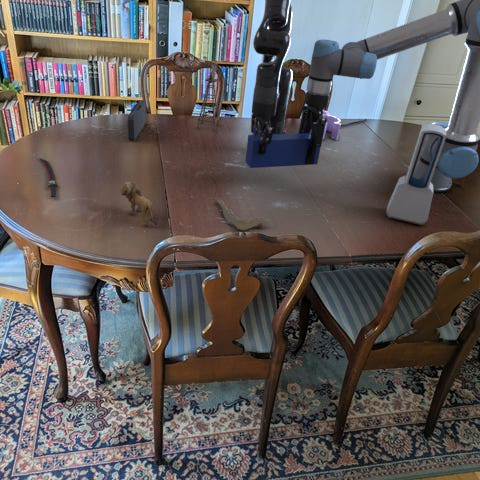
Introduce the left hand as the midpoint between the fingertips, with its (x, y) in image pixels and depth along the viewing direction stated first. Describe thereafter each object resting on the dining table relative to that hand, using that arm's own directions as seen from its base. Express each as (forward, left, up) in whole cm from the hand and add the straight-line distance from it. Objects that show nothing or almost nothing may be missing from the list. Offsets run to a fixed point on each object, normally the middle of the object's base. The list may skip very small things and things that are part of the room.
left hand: (258, 150), depth 153 cm
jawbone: (+16, +15, -13) cm, 25 cm away
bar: (-9, +2, -5) cm, 10 cm away
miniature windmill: (-14, -56, -13) cm, 59 cm away
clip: (-61, -33, -13) cm, 71 cm away
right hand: (-17, +5, -4) cm, 19 cm away
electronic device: (-32, +39, -13) cm, 52 cm away
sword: (+60, -32, -13) cm, 69 cm away
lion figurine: (+44, +3, -13) cm, 46 cm away
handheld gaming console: (+17, -61, -13) cm, 65 cm away
